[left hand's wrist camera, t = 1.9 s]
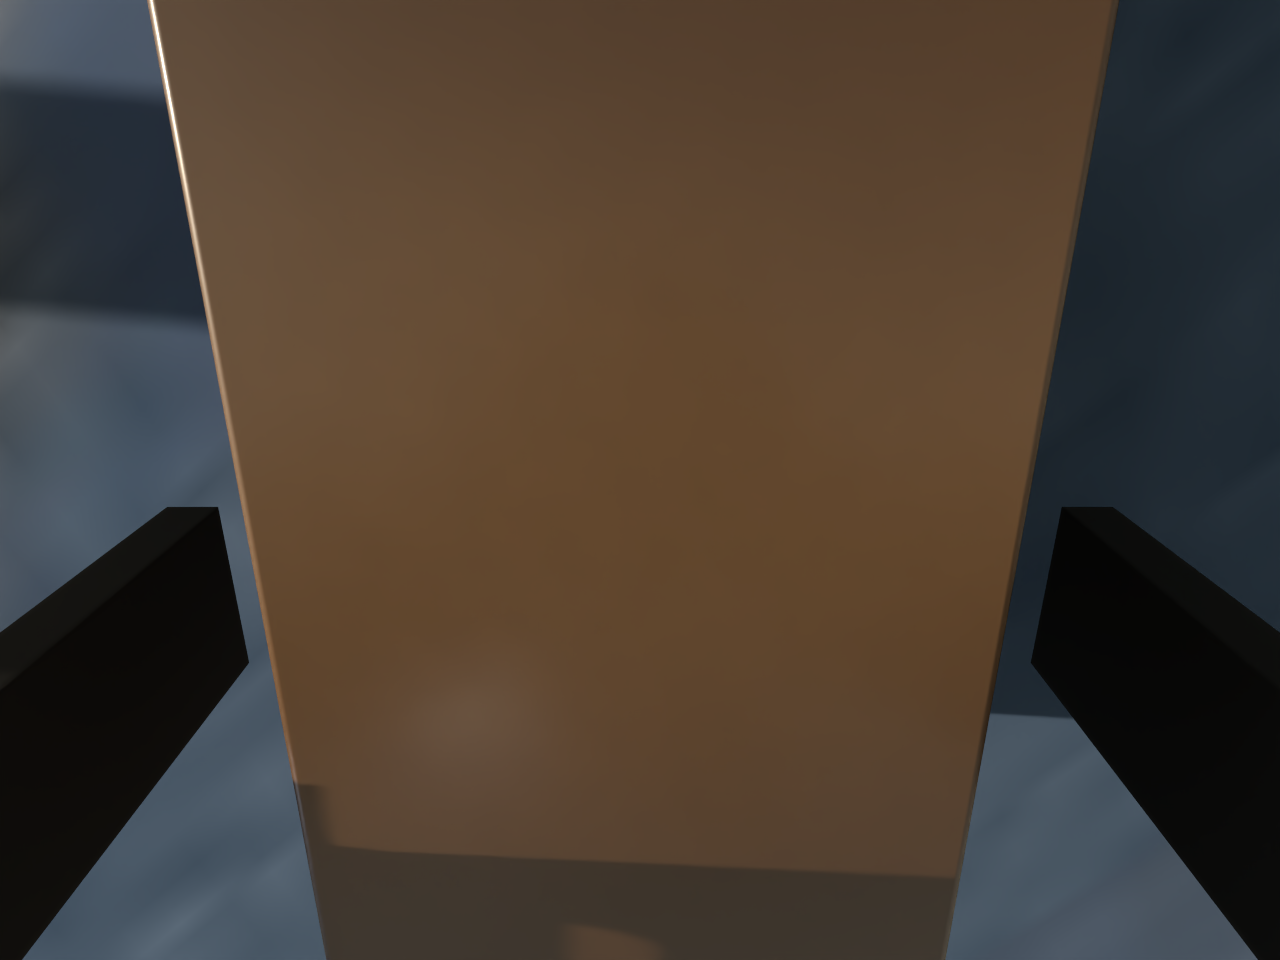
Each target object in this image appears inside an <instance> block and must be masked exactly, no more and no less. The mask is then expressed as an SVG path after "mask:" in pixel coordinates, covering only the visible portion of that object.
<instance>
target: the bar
mask: <svg viewBox="0 0 1280 960" xmlns="http://www.w3.org/2000/svg"><path fill="white" fill-rule="evenodd" d="M147 2H148V7H149V12H150V18H151V23H152V28H153V34H154V39H155V44H156V50H157V55H158V61H159V66H160V71H161V77H162V82H163V87H164V93H165V98H166V103H167V109H168V114H169V119H170V125H171V130H172V135H173V141H174V146H175V152H176V157H177V162H178V168H179V173H180V178H181V184H182V189H183V194H184V200H185V205H186V210H187V216H188V221H189V227H190V232H191V237H192V243H193V248H194V253H195V259H196V264H197V269H198V275H199V280H200V285H201V291H202V296H203V302H204V307H205V312H206V318H207V323H208V328H209V334H210V339H211V344H212V350H213V355H214V360H215V366H216V371H217V376H218V382H219V387H220V393H221V398H222V403H223V409H224V414H225V419H226V425H227V430H228V435H229V441H230V446H231V451H232V457H233V462H234V468H235V473H236V478H237V484H238V489H239V494H240V500H241V505H242V510H243V516H244V521H245V526H246V532H247V537H248V542H249V548H250V553H251V559H252V564H253V569H254V575H255V580H256V585H257V591H258V596H259V601H260V607H261V612H262V617H263V623H264V628H265V634H266V639H267V644H268V650H269V655H270V660H271V666H272V671H273V676H274V682H275V687H276V692H277V698H278V703H279V709H280V714H281V719H282V725H283V730H284V735H285V741H286V746H287V751H288V757H289V762H290V767H291V773H292V778H293V783H294V789H295V794H296V800H297V805H298V810H299V816H300V821H301V826H302V832H303V837H304V842H305V848H306V853H307V858H308V864H309V869H310V875H311V880H312V885H313V891H314V896H315V901H316V907H317V912H318V917H319V923H320V928H321V933H322V939H323V944H324V950H325V955H326V960H945V958H946V952H947V947H948V941H949V936H950V930H951V925H952V919H953V914H954V908H955V903H956V897H957V892H958V886H959V881H960V875H961V870H962V864H963V859H964V853H965V848H966V842H967V837H968V831H969V826H970V820H971V815H972V809H973V804H974V798H975V793H976V787H977V782H978V776H979V771H980V765H981V759H982V754H983V748H984V743H985V737H986V732H987V726H988V721H989V715H990V710H991V704H992V699H993V693H994V688H995V682H996V677H997V671H998V666H999V660H1000V655H1001V649H1002V644H1003V638H1004V633H1005V627H1006V622H1007V616H1008V611H1009V605H1010V600H1011V594H1012V589H1013V583H1014V578H1015V572H1016V567H1017V561H1018V556H1019V550H1020V545H1021V539H1022V534H1023V528H1024V523H1025V517H1026V512H1027V506H1028V501H1029V495H1030V490H1031V484H1032V479H1033V473H1034V468H1035V462H1036V457H1037V451H1038V446H1039V440H1040V435H1041V429H1042V424H1043V418H1044V412H1045V407H1046V401H1047V396H1048V390H1049V385H1050V379H1051V374H1052V368H1053V363H1054V357H1055V352H1056V346H1057V341H1058V335H1059V330H1060V324H1061V319H1062V313H1063V308H1064V302H1065V297H1066V291H1067V286H1068V280H1069V275H1070V269H1071V264H1072V258H1073V253H1074V247H1075V242H1076V236H1077V231H1078V225H1079V220H1080V214H1081V209H1082V203H1083V198H1084V192H1085V187H1086V181H1087V176H1088V170H1089V165H1090V159H1091V154H1092V148H1093V143H1094V137H1095V132H1096V126H1097V121H1098V115H1099V110H1100V104H1101V99H1102V93H1103V88H1104V82H1105V76H1106V71H1107V65H1108V60H1109V54H1110V49H1111V43H1112V38H1113V32H1114V27H1115V21H1116V16H1117V10H1118V5H1119V0H147Z"/></svg>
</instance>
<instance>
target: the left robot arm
mask: <svg viewBox="0 0 1280 960" xmlns="http://www.w3.org/2000/svg"><path fill="white" fill-rule="evenodd" d="M248 663H249V660H248V655H247V650H246V645H245V640H244V635H243V630H242V625H241V620H240V615H239V610H238V605H237V600H236V595H235V590H234V585H233V580H232V575H231V570H230V565H229V560H228V555H227V550H226V545H225V540H224V535H223V530H222V525H221V520H220V515H219V510H218V507H167V508H165V509H164V510H163V511H161V512H160V513H159V514H157V515H156V516H155V517H153V518H152V519H151V520H149V521H148V522H147V523H145V524H144V525H143V526H141V527H140V528H139V529H137V530H136V531H135V532H133V533H132V534H131V535H129V536H128V537H127V538H125V539H124V540H123V541H121V542H120V543H119V544H117V545H116V546H115V547H113V548H112V549H111V550H109V551H108V552H107V553H105V554H104V555H103V556H101V557H100V558H99V559H97V560H96V561H95V562H93V563H92V564H91V565H89V566H88V567H87V568H86V569H84V570H83V571H82V572H80V573H79V574H78V575H76V576H75V577H74V578H72V579H71V580H70V581H68V582H67V583H66V584H64V585H63V586H62V587H60V588H59V589H58V590H56V591H55V592H54V593H52V594H51V595H50V596H48V597H47V598H46V599H44V600H43V601H42V602H40V603H39V604H38V605H36V606H35V607H34V608H32V609H31V610H30V611H28V612H27V613H26V614H24V615H23V616H22V617H20V618H19V619H18V620H16V621H15V622H14V623H12V624H11V625H10V626H8V627H7V628H6V629H4V630H3V631H2V632H0V960H22V959H23V958H24V956H25V955H26V954H27V952H28V951H29V950H30V948H31V947H32V946H33V945H34V943H35V942H36V941H37V939H38V938H39V937H40V935H41V934H42V933H43V931H44V930H45V929H46V928H47V926H48V925H49V924H50V922H51V921H52V920H53V918H54V917H55V916H56V914H57V913H58V912H59V911H60V909H61V908H62V907H63V905H64V904H65V903H66V901H67V900H68V899H69V897H70V896H71V895H72V894H73V892H74V891H75V890H76V888H77V887H78V886H79V884H80V883H81V882H82V880H83V879H84V878H85V877H86V875H87V874H88V873H89V871H90V870H91V869H92V867H93V866H94V865H95V863H96V862H97V861H98V860H99V858H100V857H101V856H102V854H103V853H104V852H105V850H106V849H107V848H108V846H109V845H110V844H111V843H112V841H113V840H114V839H115V837H116V836H117V835H118V833H119V832H120V831H121V829H122V828H123V827H124V826H125V824H126V823H127V822H128V820H129V819H130V818H131V816H132V815H133V814H134V812H135V811H136V810H137V809H138V807H139V806H140V805H141V803H142V802H143V801H144V799H145V798H146V797H147V795H148V794H149V793H150V792H151V790H152V789H153V788H154V786H155V785H156V784H157V782H158V781H159V780H160V778H161V777H162V776H163V775H164V773H165V772H166V771H167V769H168V768H169V767H170V765H171V764H172V763H173V761H174V760H175V759H176V758H177V756H178V755H179V754H180V752H181V751H182V750H183V748H184V747H185V746H186V744H187V743H188V742H189V741H190V739H191V738H192V737H193V735H194V734H195V733H196V731H197V730H198V729H199V727H200V726H201V725H202V724H203V722H204V721H205V720H206V718H207V717H208V716H209V714H210V713H211V712H212V711H213V709H214V708H215V707H216V705H217V704H218V703H219V701H220V700H221V699H222V697H223V696H224V695H225V694H226V692H227V691H228V690H229V688H230V687H231V686H232V684H233V683H234V682H235V680H236V679H237V678H238V677H239V675H240V674H241V673H242V671H243V670H244V669H245V667H246V666H247V665H248ZM1031 663H1032V665H1033V666H1034V667H1035V669H1036V670H1037V671H1038V673H1039V674H1040V675H1041V677H1042V678H1043V679H1044V680H1045V682H1046V683H1047V684H1048V686H1049V687H1050V688H1051V690H1052V691H1053V692H1054V694H1055V695H1056V696H1057V697H1058V699H1059V700H1060V701H1061V703H1062V704H1063V705H1064V707H1065V708H1066V709H1067V711H1068V712H1069V713H1070V714H1071V716H1072V717H1073V718H1074V720H1075V721H1076V722H1077V724H1078V725H1079V726H1080V728H1081V729H1082V730H1083V731H1084V733H1085V734H1086V735H1087V737H1088V738H1089V739H1090V741H1091V742H1092V743H1093V745H1094V746H1095V747H1096V748H1097V750H1098V751H1099V752H1100V754H1101V755H1102V756H1103V758H1104V759H1105V760H1106V762H1107V763H1108V764H1109V765H1110V767H1111V768H1112V769H1113V771H1114V772H1115V773H1116V775H1117V776H1118V777H1119V779H1120V780H1121V781H1122V782H1123V784H1124V785H1125V786H1126V788H1127V789H1128V790H1129V792H1130V793H1131V794H1132V796H1133V797H1134V798H1135V799H1136V801H1137V802H1138V803H1139V805H1140V806H1141V807H1142V809H1143V810H1144V811H1145V813H1146V814H1147V815H1148V816H1149V818H1150V819H1151V820H1152V822H1153V823H1154V824H1155V826H1156V827H1157V828H1158V830H1159V831H1160V832H1161V833H1162V835H1163V836H1164V837H1165V839H1166V840H1167V841H1168V843H1169V844H1170V845H1171V847H1172V848H1173V849H1174V850H1175V852H1176V853H1177V854H1178V856H1179V857H1180V858H1181V860H1182V861H1183V862H1184V864H1185V865H1186V866H1187V867H1188V869H1189V870H1190V871H1191V873H1192V874H1193V875H1194V877H1195V878H1196V879H1197V881H1198V882H1199V883H1200V884H1201V886H1202V887H1203V888H1204V890H1205V891H1206V892H1207V894H1208V895H1209V896H1210V898H1211V899H1212V900H1213V901H1214V903H1215V904H1216V905H1217V907H1218V908H1219V909H1220V911H1221V912H1222V913H1223V914H1224V916H1225V917H1226V918H1227V920H1228V921H1229V922H1230V924H1231V925H1232V926H1233V928H1234V929H1235V930H1236V931H1237V933H1238V934H1239V935H1240V937H1241V938H1242V939H1243V941H1244V942H1245V943H1246V945H1247V946H1248V947H1249V948H1250V950H1251V951H1252V952H1253V954H1254V955H1255V956H1256V958H1257V959H1258V960H1280V632H1278V631H1277V630H1276V629H1274V628H1273V627H1272V626H1270V625H1269V624H1268V623H1266V622H1265V621H1264V620H1262V619H1261V618H1260V617H1258V616H1257V615H1256V614H1254V613H1253V612H1252V611H1250V610H1249V609H1248V608H1246V607H1245V606H1244V605H1242V604H1241V603H1240V602H1238V601H1237V600H1236V599H1234V598H1233V597H1232V596H1230V595H1229V594H1228V593H1226V592H1225V591H1224V590H1222V589H1221V588H1220V587H1218V586H1217V585H1216V584H1214V583H1213V582H1212V581H1210V580H1209V579H1208V578H1206V577H1205V576H1204V575H1202V574H1201V573H1200V572H1198V571H1197V570H1196V569H1194V568H1193V567H1192V566H1190V565H1189V564H1188V563H1186V562H1185V561H1184V560H1182V559H1181V558H1180V557H1179V556H1177V555H1176V554H1175V553H1173V552H1172V551H1171V550H1169V549H1168V548H1167V547H1165V546H1164V545H1163V544H1161V543H1160V542H1159V541H1157V540H1156V539H1155V538H1153V537H1152V536H1151V535H1149V534H1148V533H1147V532H1145V531H1144V530H1143V529H1141V528H1140V527H1139V526H1137V525H1136V524H1135V523H1133V522H1132V521H1131V520H1129V519H1128V518H1127V517H1125V516H1124V515H1123V514H1121V513H1120V512H1119V511H1117V510H1116V509H1115V508H1113V507H1062V509H1061V514H1060V519H1059V524H1058V529H1057V534H1056V539H1055V544H1054V550H1053V555H1052V560H1051V565H1050V570H1049V575H1048V580H1047V585H1046V590H1045V595H1044V600H1043V605H1042V610H1041V615H1040V620H1039V625H1038V630H1037V635H1036V640H1035V645H1034V650H1033V655H1032V660H1031Z"/></svg>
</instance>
